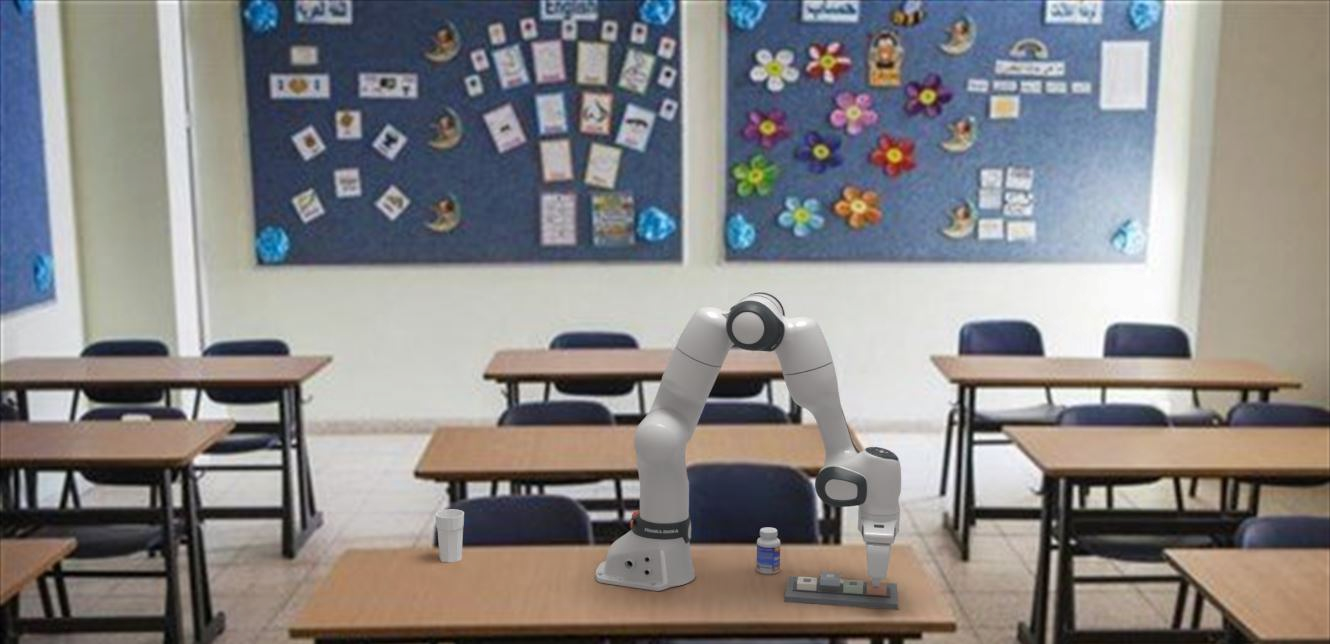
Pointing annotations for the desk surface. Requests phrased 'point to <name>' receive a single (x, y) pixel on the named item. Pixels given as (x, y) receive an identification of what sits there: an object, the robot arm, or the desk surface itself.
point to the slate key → (830, 579)
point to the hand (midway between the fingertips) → (876, 583)
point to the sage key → (853, 586)
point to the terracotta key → (876, 589)
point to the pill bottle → (768, 551)
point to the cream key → (807, 583)
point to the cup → (450, 534)
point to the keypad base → (841, 595)
